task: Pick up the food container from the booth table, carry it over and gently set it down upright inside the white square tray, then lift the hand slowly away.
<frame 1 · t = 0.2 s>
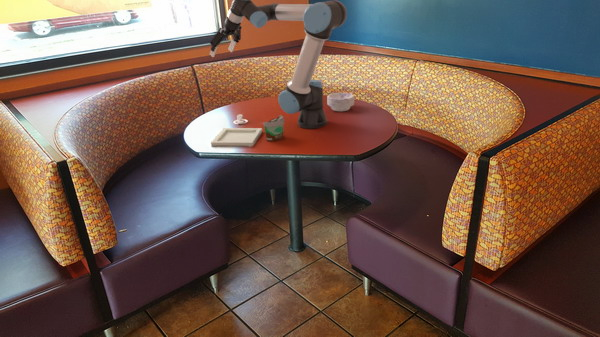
hand: (221, 53, 237), 36 cm above the table, tool tilted 35°, fingers open, 13 cm apart
paper bowls: (340, 109, 256), on the table
white square tray: (237, 138, 220), on the table
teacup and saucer: (235, 124, 243), on the table
food container: (277, 139, 217), on the table
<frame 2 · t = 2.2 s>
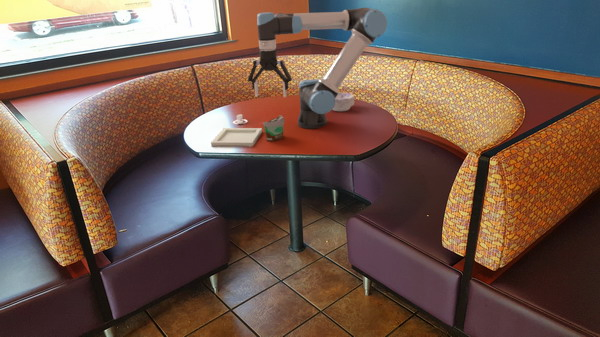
hand: (270, 96, 209), 21 cm above the table, tool pointing down, fingers open, 13 cm apart
nothing on the table moved.
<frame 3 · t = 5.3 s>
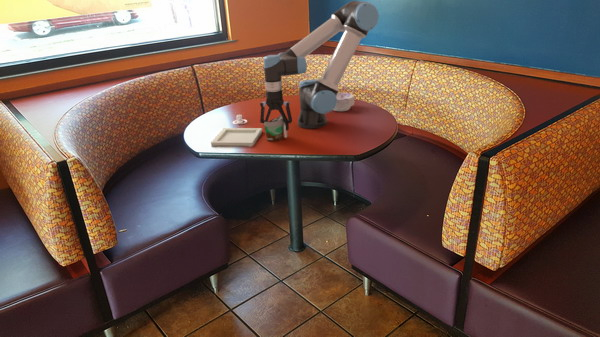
hand: (277, 136, 216), 1 cm above the table, tool pointing down, fingers closed on food container, 8 cm apart
food container: (278, 139, 217), on the table, touching gripper
everything else where it was.
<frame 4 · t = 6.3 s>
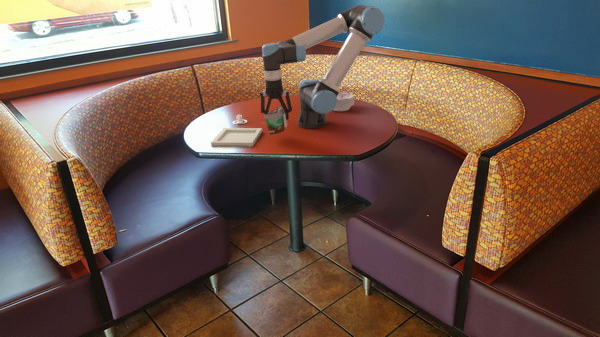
hand: (278, 126, 214), 6 cm above the table, tool pointing down, fingers closed on food container, 7 cm apart
food container: (280, 131, 215), point 4 cm above the table, touching gripper
everything else where it was.
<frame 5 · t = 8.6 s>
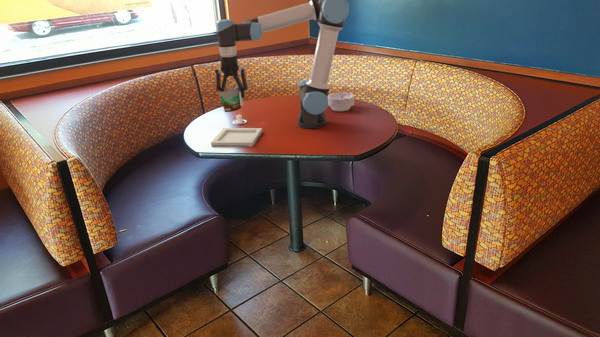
hand: (234, 104, 213), 17 cm above the table, tool pointing down, fingers closed on food container, 7 cm apart
food container: (236, 109, 213), point 15 cm above the table, touching gripper
everything else where it was.
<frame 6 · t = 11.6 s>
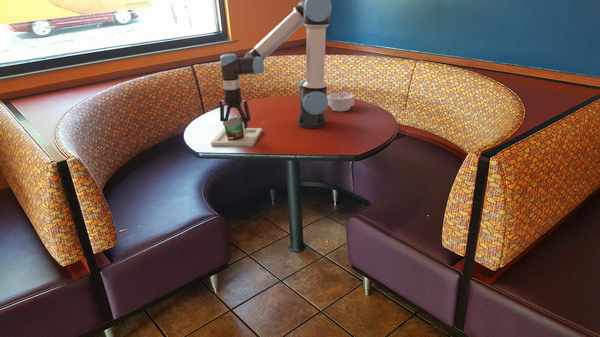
hand: (237, 134, 219), 2 cm above the table, tool pointing down, fingers closed on food container, 7 cm apart
food container: (239, 138, 219), point 1 cm above the table, touching gripper, white square tray
everything else where it was.
when the fingers open (2 cm above the table, at t = 12.2 s): food container stays where it is, resting on white square tray.
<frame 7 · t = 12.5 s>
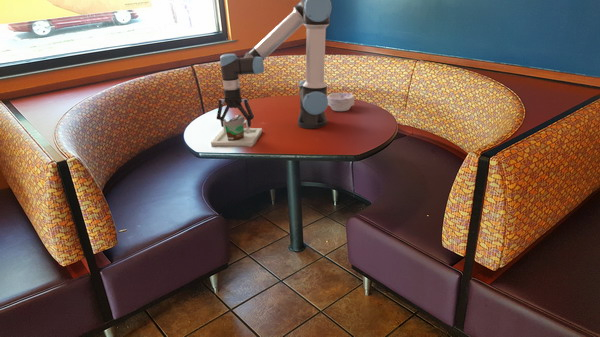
hand: (237, 133, 219), 3 cm above the table, tool pointing down, fingers open, 10 cm apart
food container: (239, 138, 219), resting on white square tray
everything else where it was.
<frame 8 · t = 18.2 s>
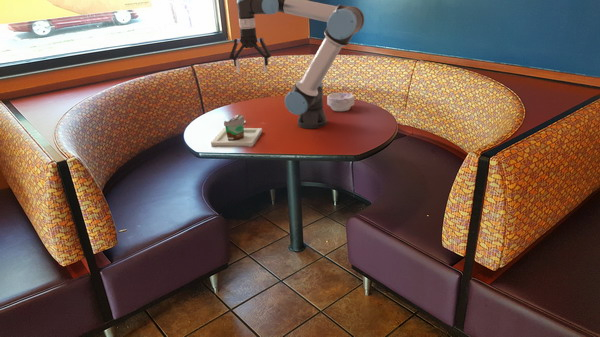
hand: (251, 72, 222), 29 cm above the table, tool pointing down, fingers open, 13 cm apart
at the end: food container inside the target area on the white square tray (0.9 cm from its centre), point 0.4 cm above the white square tray's base; food container tilted 0°; the gripper is holding nothing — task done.
